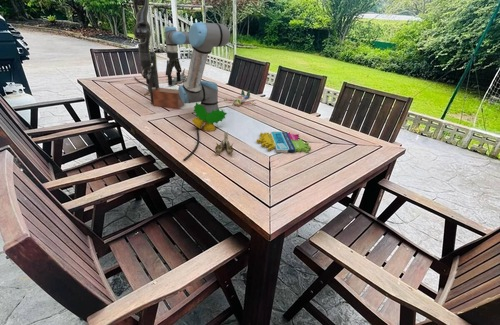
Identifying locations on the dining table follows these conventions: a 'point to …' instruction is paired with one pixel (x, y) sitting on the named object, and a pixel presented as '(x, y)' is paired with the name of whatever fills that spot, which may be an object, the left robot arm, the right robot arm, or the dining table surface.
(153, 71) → the left robot arm
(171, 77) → the right robot arm
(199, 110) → the ornament
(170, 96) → the cabinet
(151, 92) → the drawer
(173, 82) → the airplane
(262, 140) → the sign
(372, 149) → the dining table surface
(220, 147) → the jawbone
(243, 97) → the toy
